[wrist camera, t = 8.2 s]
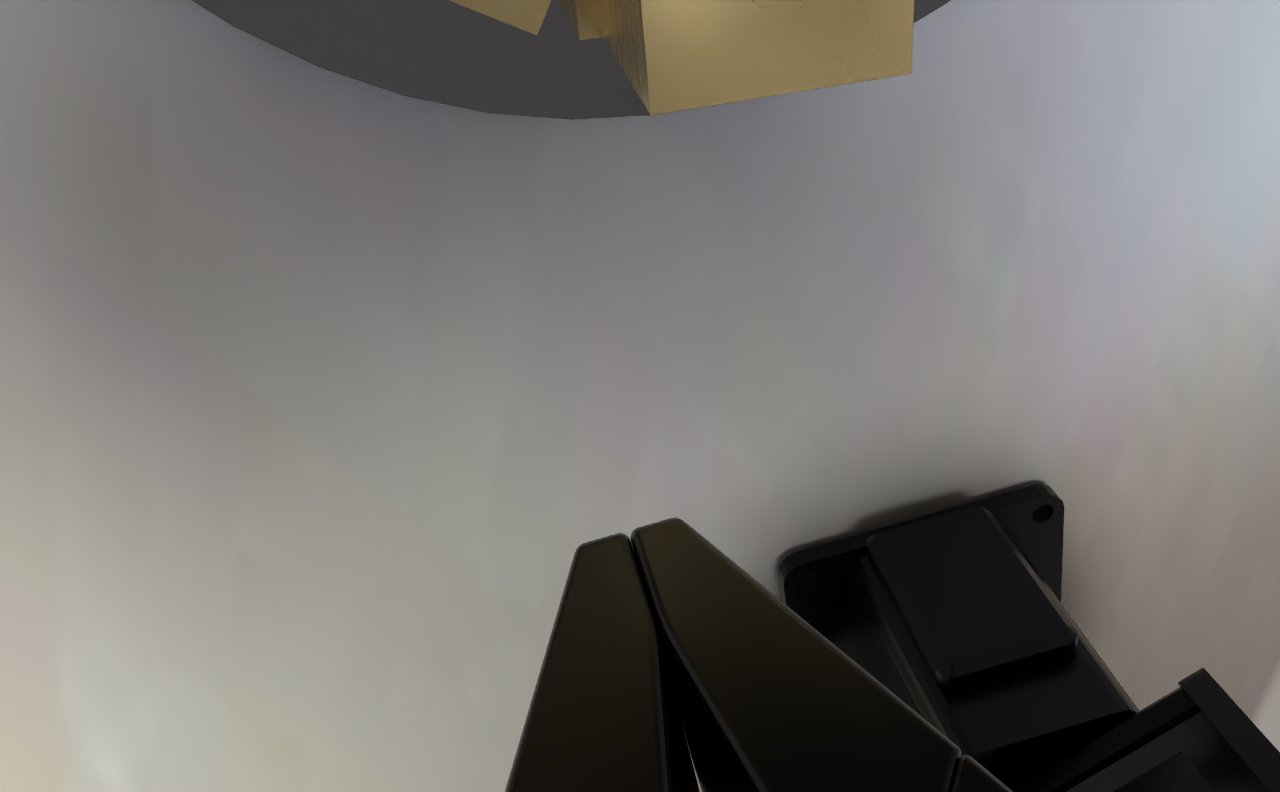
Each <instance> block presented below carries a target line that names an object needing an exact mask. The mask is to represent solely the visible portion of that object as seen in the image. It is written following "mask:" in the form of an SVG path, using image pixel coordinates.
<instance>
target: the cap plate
mask: <svg viewBox="0 0 1280 792" xmlns="http://www.w3.org/2000/svg"><path fill="white" fill-rule="evenodd" d="M192 1H194V2H196V3H197V4H199V5H200V6H202V7H203V8H205V9H207V10H208V11H210V12H211V13H213V14H215V15H216V16H218V17H219V18H221V19H223V20H224V21H226V22H227V23H229V24H231V25H232V26H234V27H236V28H239V29H241V30H243V31H245V32H247V33H249V34H251V35H253V36H255V37H257V38H259V39H262V40H264V41H266V42H268V43H270V44H272V45H274V46H276V47H278V48H280V49H283V50H285V51H287V52H289V53H291V54H293V55H295V56H297V57H299V58H301V59H303V60H306V61H308V62H310V63H312V64H314V65H316V66H318V67H321V68H324V69H327V70H330V71H333V72H336V73H339V74H342V75H344V76H347V77H350V78H353V79H356V80H359V81H362V82H365V83H368V84H371V85H374V86H377V87H380V88H383V89H386V90H389V91H392V92H395V93H398V94H401V95H404V96H408V97H413V98H418V99H423V100H428V101H432V102H437V103H442V104H447V105H452V106H457V107H462V108H467V109H472V110H477V111H482V112H486V113H494V114H508V115H521V116H535V117H548V118H562V119H587V118H605V117H623V116H642V115H650V113H649V111H648V110H647V108H646V107H645V105H644V103H643V102H642V100H641V99H640V97H639V95H638V94H637V92H636V90H635V89H634V87H633V86H632V84H631V82H630V81H629V79H628V78H627V76H626V74H625V73H624V71H623V69H622V68H621V66H620V65H619V63H618V61H617V60H616V58H615V56H614V55H613V53H612V52H611V50H610V48H609V47H608V45H607V44H606V42H605V40H604V39H603V37H599V38H593V39H586V40H579V38H578V36H577V35H576V33H575V31H574V29H573V27H572V26H571V24H570V22H569V20H568V18H567V17H566V15H565V13H564V11H563V9H562V8H561V6H560V4H559V2H558V1H557V0H551V2H550V5H549V7H548V10H547V12H546V15H545V17H544V20H543V22H542V25H541V27H540V30H539V32H538V35H534V34H532V33H529V32H527V31H524V30H522V29H519V28H517V27H514V26H512V25H509V24H507V23H504V22H502V21H499V20H497V19H494V18H492V17H489V16H487V15H484V14H482V13H479V12H477V11H474V10H472V9H469V8H467V7H464V6H462V5H459V4H457V3H454V2H452V1H449V0H192ZM949 1H951V0H914V16H913V23H915V22H916V21H918V20H920V19H921V18H923V17H925V16H926V15H928V14H929V13H931V12H933V11H934V10H936V9H938V8H939V7H941V6H943V5H944V4H946V3H948V2H949Z"/></svg>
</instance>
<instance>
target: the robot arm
mask: <svg viewBox="0 0 1280 792" xmlns="http://www.w3.org/2000/svg"><path fill="white" fill-rule="evenodd" d="M1042 505H1043V506H1042ZM1040 506H1042V507H1041V508H1040V509H1038V510H1036V509H1037V508H1038V507H1040ZM1035 510H1036V511H1035ZM1063 524H1064V505H1063V501H1062V500H1061V499H1060V498H1059V496H1058V495H1057V494H1056V493H1055V492H1054V490H1053V489H1052V488H1050V487H1049V486H1046V485H1036V486H1032V487H1028V488H1024V489H1021V490H1017V491H1014V492H1010V493H1007V494H1003V495H999V496H996V497H992V498H989V499H985V500H982V501H978V502H974V503H971V504H967V505H964V506H960V507H957V508H953V509H949V510H946V511H942V512H939V513H935V514H932V515H928V516H924V517H921V518H917V519H914V520H910V521H906V522H903V523H899V524H896V525H892V526H889V527H885V528H881V529H878V530H874V531H871V532H867V533H864V534H860V535H856V536H853V537H849V538H846V539H842V540H839V541H835V542H831V543H828V544H824V545H821V546H817V547H813V548H810V549H806V550H803V551H799V552H796V553H794V554H792V555H789V556H788V557H787V558H786V559H785V560H784V561H783V562H782V563H781V565H780V567H779V570H778V578H779V584H780V591H781V598H782V601H780V600H779V599H778V598H777V597H775V596H774V595H773V594H772V593H771V592H769V591H768V590H767V589H766V588H765V587H763V586H762V585H761V584H760V583H758V582H757V581H756V580H755V579H754V578H752V577H751V576H750V575H749V574H747V573H746V572H745V571H744V570H743V569H741V568H740V567H739V566H738V565H737V564H735V563H734V562H733V561H732V560H730V559H729V558H728V557H727V556H726V555H724V554H723V553H722V552H721V551H720V550H718V549H717V548H716V547H715V546H713V545H712V544H711V543H710V542H709V541H707V540H706V539H705V538H704V537H703V536H701V535H700V534H699V533H698V532H696V531H695V530H694V529H693V528H692V527H690V526H689V525H688V524H687V523H685V522H684V521H683V520H681V519H678V518H670V519H667V520H663V521H660V522H656V523H653V524H649V525H646V526H642V527H639V528H636V529H634V530H633V532H632V533H631V541H630V539H629V537H628V536H627V535H626V534H623V533H618V534H614V535H610V536H607V537H603V538H600V539H596V540H593V541H589V542H586V543H583V544H581V545H580V546H579V547H578V548H577V550H576V552H575V554H574V558H573V561H572V564H571V568H570V571H569V575H568V578H567V581H566V585H565V588H564V592H563V595H562V598H561V602H560V605H559V609H558V612H557V616H556V619H555V622H554V626H553V629H552V633H551V636H550V639H549V643H548V646H547V650H546V653H545V656H544V660H543V663H542V667H541V670H540V674H539V677H538V680H537V684H536V687H535V691H534V694H533V697H532V701H531V704H530V708H529V711H528V714H527V718H526V721H525V725H524V728H523V732H522V735H521V738H520V742H519V745H518V749H517V752H516V755H515V759H514V762H513V766H512V769H511V772H510V776H509V779H508V783H507V786H506V790H505V792H700V791H699V787H698V783H697V779H696V776H695V772H694V768H695V771H696V774H697V777H698V780H699V783H700V787H701V790H702V792H1280V752H1279V751H1278V750H1277V749H1276V748H1275V747H1274V746H1273V745H1272V743H1271V742H1269V740H1268V739H1267V738H1266V737H1265V736H1264V735H1263V733H1262V732H1261V731H1260V730H1259V729H1258V728H1257V727H1256V726H1255V725H1254V723H1253V722H1252V721H1251V720H1250V719H1249V718H1248V717H1247V716H1246V715H1245V713H1244V712H1243V711H1242V710H1241V709H1240V708H1239V707H1238V706H1237V705H1236V703H1235V702H1234V701H1233V700H1232V699H1231V698H1230V697H1229V696H1228V695H1227V693H1226V692H1225V691H1224V690H1223V689H1222V688H1221V687H1220V686H1219V685H1218V683H1217V682H1216V681H1215V680H1214V679H1213V678H1212V677H1211V676H1210V674H1209V673H1208V672H1207V671H1206V670H1205V669H1204V668H1201V669H1200V670H1198V671H1196V672H1195V673H1193V674H1191V675H1190V676H1188V677H1186V678H1185V679H1183V680H1181V681H1179V682H1178V684H1179V686H1180V687H1179V688H1178V689H1176V690H1174V691H1173V692H1171V693H1169V694H1168V695H1166V696H1164V697H1163V698H1161V699H1159V700H1158V701H1156V702H1154V703H1153V704H1151V705H1149V706H1148V707H1146V708H1144V709H1143V710H1141V711H1139V709H1138V708H1137V707H1136V705H1135V704H1134V703H1133V701H1132V700H1131V698H1130V697H1129V696H1128V694H1127V693H1126V692H1125V690H1124V689H1123V687H1122V686H1121V685H1120V683H1119V682H1118V681H1117V679H1116V678H1115V677H1114V675H1113V674H1112V672H1111V671H1110V670H1109V668H1108V667H1107V666H1106V664H1105V663H1104V661H1103V660H1102V659H1101V657H1100V656H1099V655H1098V653H1097V652H1096V650H1095V649H1094V648H1093V646H1092V645H1091V644H1090V642H1089V641H1088V639H1087V638H1086V637H1085V635H1084V634H1083V633H1082V631H1081V630H1080V629H1079V627H1078V626H1077V624H1076V623H1075V622H1074V620H1073V619H1072V618H1071V616H1070V615H1069V613H1068V612H1067V611H1066V609H1065V608H1064V607H1063V605H1062V604H1061V578H1062V551H1063ZM631 543H632V544H631ZM632 547H633V548H632ZM803 572H808V573H807V574H806V575H804V576H802V577H797V576H798V575H799V574H801V573H803ZM688 747H689V748H688ZM689 751H690V752H689ZM690 754H691V756H690ZM691 758H692V760H691ZM692 761H693V764H692ZM693 765H694V768H693Z"/></svg>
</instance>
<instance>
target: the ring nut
mask: <svg viewBox="0 0 1280 792" xmlns="http://www.w3.org/2000/svg"><path fill="white" fill-rule="evenodd" d="M449 1H452V2H454V3H457V4H459V5H462V6H464V7H467V8H469V9H472V10H474V11H477V12H479V13H482V14H484V15H487V16H489V17H492V18H494V19H497V20H499V21H502V22H504V23H507V24H509V25H512V26H514V27H517V28H519V29H522V30H524V31H527V32H529V33H532V34H534V35H538V32H539V30H540V27H541V25H542V22H543V20H544V17H545V15H546V12H547V10H548V7H549V5H550V2H551V0H449ZM557 1H558V2H559V4H560V6H561V8H562V9H563V11H564V13H565V15H566V17H567V18H568V20H569V22H570V24H571V26H572V27H573V29H574V31H575V33H576V35H577V36H578V38H579V40H586V39H593V38H599V37H603V39H604V40H605V42H606V44H607V45H608V47H609V48H610V50H611V52H612V53H613V55H614V56H615V58H616V60H617V61H618V63H619V65H620V66H621V68H622V69H623V71H624V73H625V74H626V76H627V78H628V79H629V81H630V82H631V84H632V86H633V87H634V89H635V90H636V92H637V94H638V95H639V97H640V99H641V100H642V102H643V103H644V105H645V107H646V108H647V110H648V111H649V113H650V115H656V114H663V113H669V112H675V111H681V110H688V109H694V108H700V107H706V106H712V105H719V104H725V103H731V102H737V101H743V100H750V99H756V98H762V97H768V96H775V95H781V94H787V93H793V92H799V91H806V90H812V89H818V88H824V87H830V86H837V85H843V84H849V83H855V82H862V81H868V80H874V79H880V78H886V77H893V76H899V75H905V74H911V65H912V40H913V16H914V0H557Z"/></svg>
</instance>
